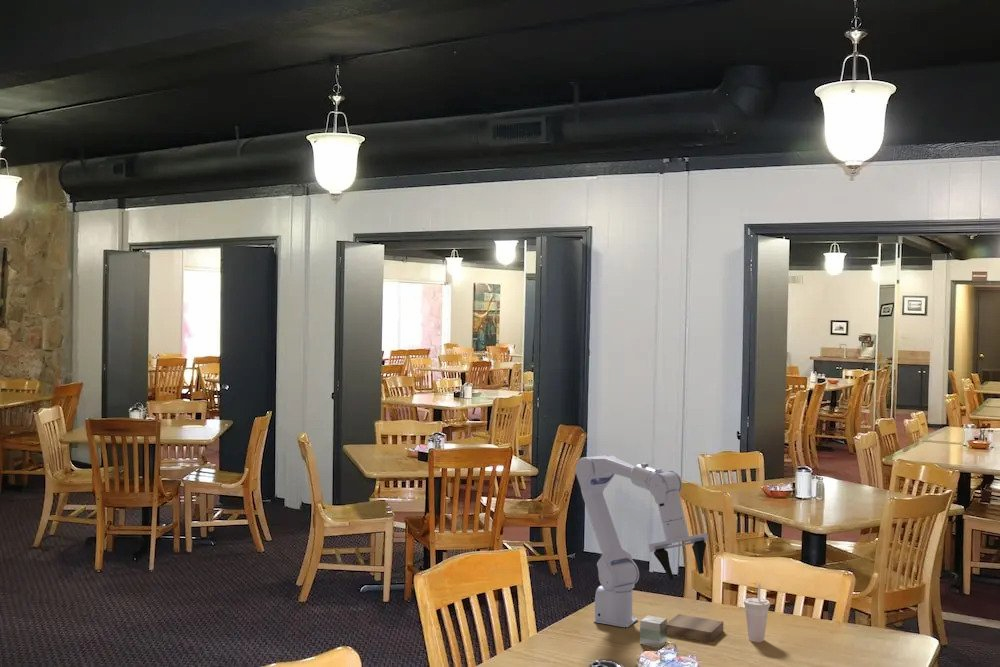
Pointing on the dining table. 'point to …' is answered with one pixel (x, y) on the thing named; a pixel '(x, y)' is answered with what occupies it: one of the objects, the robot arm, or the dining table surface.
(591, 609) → the dining table surface
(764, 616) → the smoothie
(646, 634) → the steel tin
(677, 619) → the walnut block
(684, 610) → the dining table surface
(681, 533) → the robot arm
